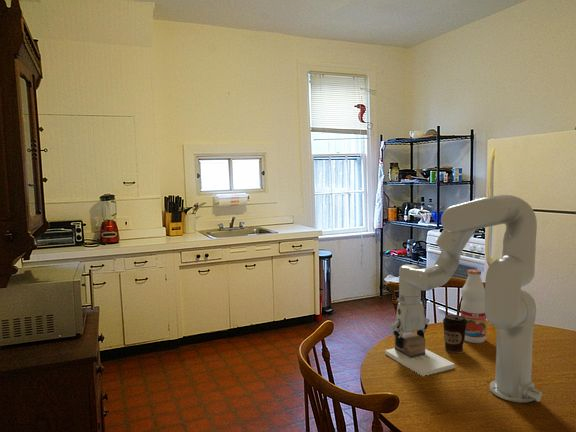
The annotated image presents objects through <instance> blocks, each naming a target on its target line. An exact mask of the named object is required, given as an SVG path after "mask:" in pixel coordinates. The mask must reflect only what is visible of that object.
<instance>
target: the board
mask: <svg viewBox="0 0 576 432" xmlns="http://www.w3.org/2000/svg"><path fill="white" fill-rule="evenodd" d="M384 354H385V356H388V357H389V358H391V359H393V360H394V361H396V362H398V363H399V364H401V365H403V366H405V368H407V369H409V368H410V370H411V371H413V372H414V371H415V373H416V372H417V373H416V374H417V375H419V374H420V375H419V376H421V375H422V376H421V377H426V376H425V375H427V376H430V374H431V375H434V374H437V373H441V372H445V371H449V370H452V369H453V370H454V369H455V368H456V367H455V363H454V362H452V361H449V360H448V359H446V358H444V357H442V356H440V355H438V354H437V353H434V352H432V351H430V349H429V350H428V349H427V348H425V355H422V356H418V357H414V358H410V357H408V356H406V355H404V354H403V353H401V352H399V351H397V350H395V347H394V348H389V349H385V350H384ZM433 373H434V374H433Z"/></svg>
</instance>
